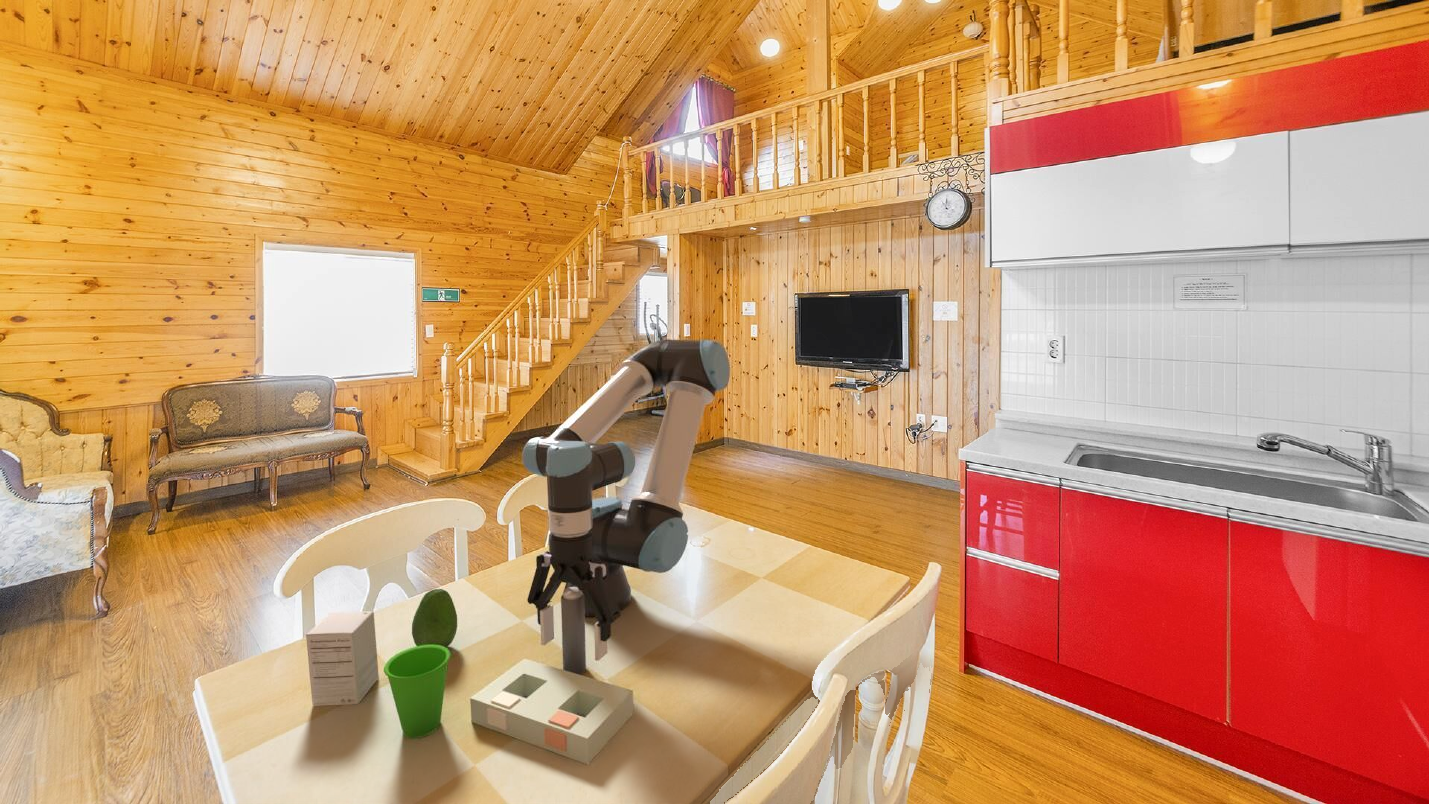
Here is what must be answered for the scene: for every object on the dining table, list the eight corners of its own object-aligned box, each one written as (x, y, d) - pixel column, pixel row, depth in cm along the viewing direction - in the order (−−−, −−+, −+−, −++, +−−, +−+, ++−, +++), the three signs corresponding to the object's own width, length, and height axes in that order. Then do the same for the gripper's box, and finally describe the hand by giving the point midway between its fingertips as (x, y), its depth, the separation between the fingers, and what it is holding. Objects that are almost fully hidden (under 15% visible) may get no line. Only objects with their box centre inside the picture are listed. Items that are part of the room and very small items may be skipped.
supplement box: (336, 680, 101) (330, 611, 100) (380, 678, 102) (375, 610, 101) (310, 707, 94) (304, 633, 93) (358, 705, 95) (352, 632, 93)
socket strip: (469, 723, 91) (468, 697, 90) (525, 680, 102) (524, 656, 101) (586, 766, 82) (586, 737, 81) (633, 713, 93) (632, 688, 92)
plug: (558, 673, 104) (556, 593, 102) (572, 661, 107) (570, 584, 106) (576, 678, 102) (574, 597, 100) (590, 666, 106) (588, 588, 104)
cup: (433, 701, 96) (430, 638, 94) (465, 722, 91) (462, 656, 89) (376, 732, 88) (372, 664, 87) (408, 756, 83) (403, 685, 82)
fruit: (405, 651, 111) (401, 591, 109) (446, 634, 117) (443, 577, 115) (424, 666, 106) (420, 604, 104) (466, 648, 112) (463, 589, 110)
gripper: (503, 527, 103) (508, 644, 106) (615, 548, 93) (617, 675, 96) (532, 515, 110) (536, 625, 112) (640, 533, 100) (641, 653, 103)
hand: (573, 648), depth 104 cm, fingers open, 11 cm apart
